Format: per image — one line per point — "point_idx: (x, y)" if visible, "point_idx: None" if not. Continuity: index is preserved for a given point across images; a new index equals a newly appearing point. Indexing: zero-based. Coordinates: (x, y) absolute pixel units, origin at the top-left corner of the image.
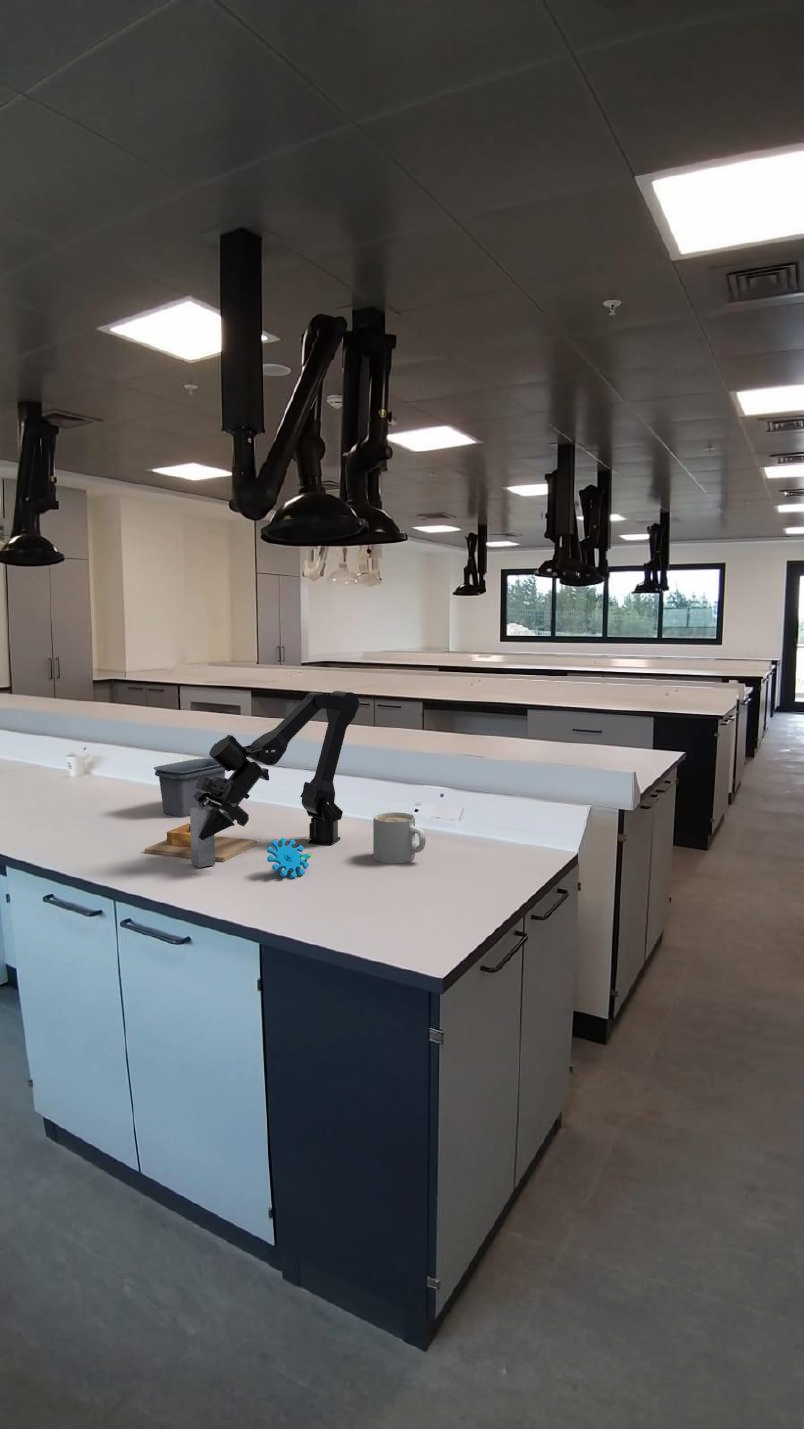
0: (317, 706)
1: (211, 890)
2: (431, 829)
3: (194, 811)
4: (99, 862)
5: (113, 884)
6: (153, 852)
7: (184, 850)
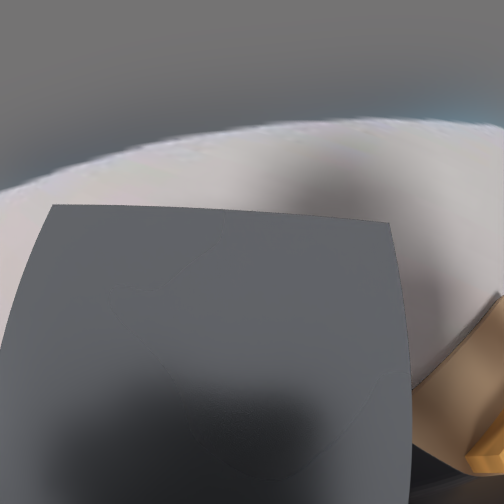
0: None
1: (5, 283)
2: None
3: (163, 220)
4: (447, 183)
5: (246, 137)
6: (484, 317)
7: (439, 413)
